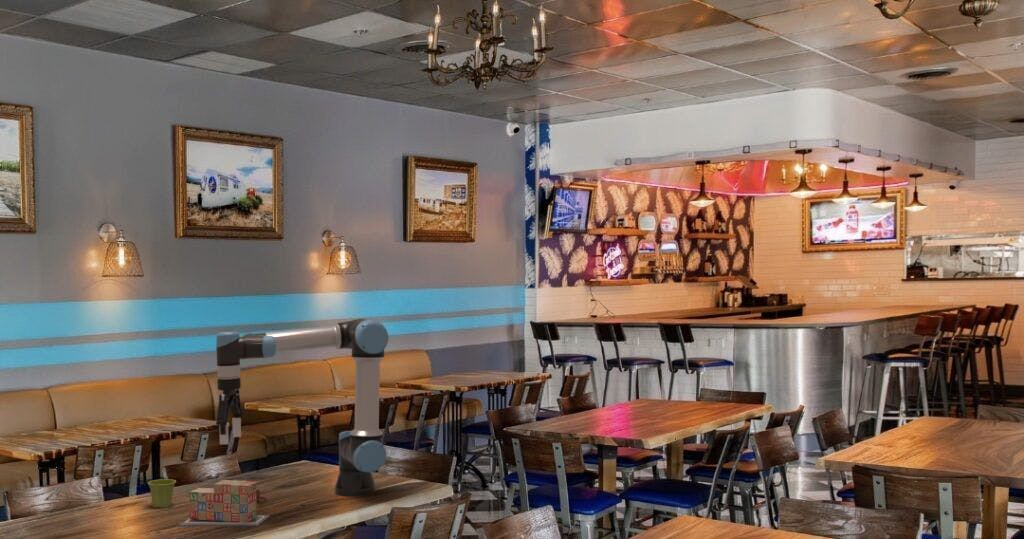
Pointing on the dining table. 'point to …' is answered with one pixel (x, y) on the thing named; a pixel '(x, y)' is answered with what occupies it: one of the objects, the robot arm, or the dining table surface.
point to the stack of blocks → (225, 502)
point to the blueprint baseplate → (223, 522)
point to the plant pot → (161, 492)
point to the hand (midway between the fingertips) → (230, 440)
